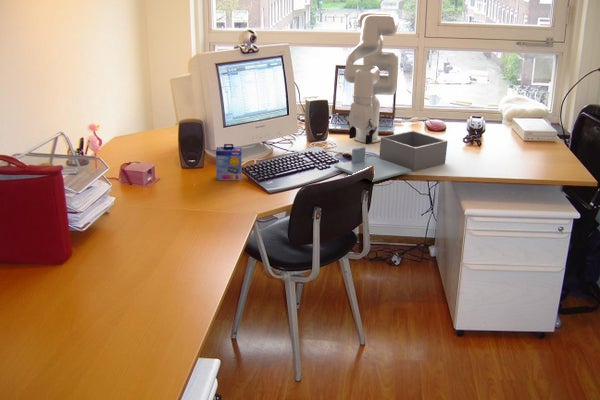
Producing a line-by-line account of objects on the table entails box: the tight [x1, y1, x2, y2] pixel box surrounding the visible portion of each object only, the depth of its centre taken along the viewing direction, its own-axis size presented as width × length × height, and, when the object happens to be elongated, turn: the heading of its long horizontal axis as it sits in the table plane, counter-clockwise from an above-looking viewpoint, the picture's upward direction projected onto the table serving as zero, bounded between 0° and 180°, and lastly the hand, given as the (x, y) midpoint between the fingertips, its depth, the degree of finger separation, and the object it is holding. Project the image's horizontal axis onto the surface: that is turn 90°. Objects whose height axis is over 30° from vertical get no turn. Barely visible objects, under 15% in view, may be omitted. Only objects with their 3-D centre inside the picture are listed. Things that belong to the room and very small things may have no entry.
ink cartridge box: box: [215, 143, 242, 181], centre depth 259 cm, size 10×6×14 cm, turn 95°
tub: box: [378, 130, 449, 173], centre depth 286 cm, size 20×20×10 cm
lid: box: [333, 146, 412, 183], centre depth 271 cm, size 22×22×8 cm
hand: (360, 140), depth 275 cm, fingers open, 9 cm apart
